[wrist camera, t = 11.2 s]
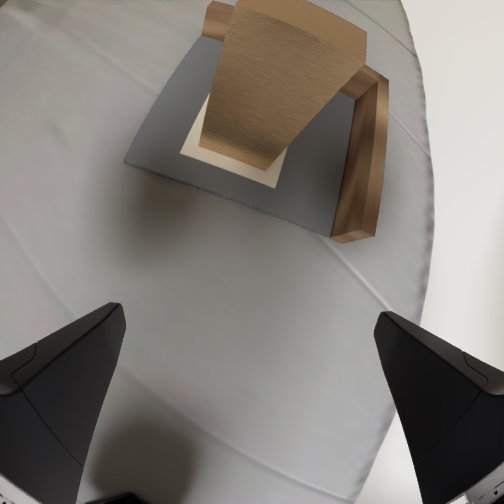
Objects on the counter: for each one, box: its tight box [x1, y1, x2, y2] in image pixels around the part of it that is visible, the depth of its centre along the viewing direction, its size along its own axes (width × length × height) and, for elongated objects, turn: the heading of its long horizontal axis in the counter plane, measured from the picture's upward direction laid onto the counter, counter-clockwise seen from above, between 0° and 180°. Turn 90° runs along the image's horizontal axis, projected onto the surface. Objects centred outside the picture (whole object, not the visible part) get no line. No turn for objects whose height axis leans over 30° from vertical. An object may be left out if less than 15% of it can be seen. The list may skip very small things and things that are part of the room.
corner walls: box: [201, 0, 389, 243], centre depth 18 cm, size 15×17×4 cm
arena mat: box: [124, 36, 355, 237], centre depth 20 cm, size 14×16×1 cm
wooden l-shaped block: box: [198, 0, 367, 171], centre depth 14 cm, size 8×5×12 cm, turn 162°
